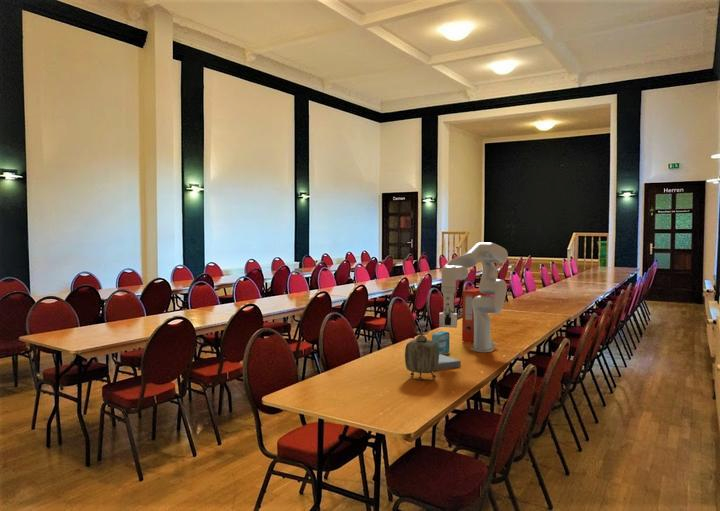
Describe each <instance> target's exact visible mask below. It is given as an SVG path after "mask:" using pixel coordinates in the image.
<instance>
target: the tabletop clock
mask: <svg viewBox="0 0 720 511" xmlns="http://www.w3.org/2000/svg"><path fill="white" fill-rule="evenodd" d="M418 328H424V329H426V330H427V332H425V333H423V331H420V332H417V331H416V329H418ZM413 330H414V333H415V334H417V335H418V336H416V338H415V339H412V340H409V341H408V343H406V345H405V349H404V363H405V368H406V370H408V371H409V372H410V376H412V377H413V376H414V375H415V373H418V374H419V376H418V380H420V381H422V380H423V377H422V374H431V377H432V378H433V379H435V378H436V374H434V373H433V372H434V371H435V369H436V368H437V366H438V362H439V349H438V345H437V342H435V341H432V339H427V338H428V337H427V336H425V335H427V334H429V332H430V331H429V328H428V327H426V326H424V325H417V326H416V327H414V329H413Z"/></svg>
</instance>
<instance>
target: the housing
mask: <svg viewBox="0 0 720 511" xmlns="http://www.w3.org/2000/svg"><path fill="white" fill-rule="evenodd" d="M450 318H451V325H445V311H444V310H443V311H442V312H439V318H438V319H439V321H438V322H439V323H438V327H439V328H452V329H453V328H454V329H455V328H457V327H458V313H457V312H451V317H450Z"/></svg>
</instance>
